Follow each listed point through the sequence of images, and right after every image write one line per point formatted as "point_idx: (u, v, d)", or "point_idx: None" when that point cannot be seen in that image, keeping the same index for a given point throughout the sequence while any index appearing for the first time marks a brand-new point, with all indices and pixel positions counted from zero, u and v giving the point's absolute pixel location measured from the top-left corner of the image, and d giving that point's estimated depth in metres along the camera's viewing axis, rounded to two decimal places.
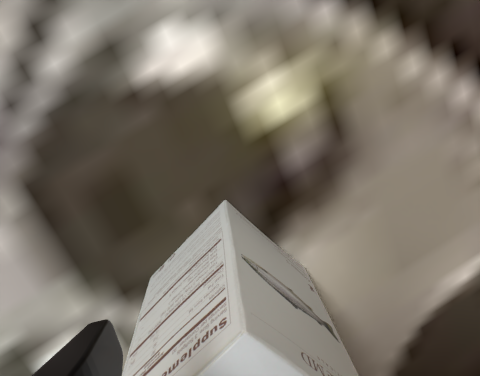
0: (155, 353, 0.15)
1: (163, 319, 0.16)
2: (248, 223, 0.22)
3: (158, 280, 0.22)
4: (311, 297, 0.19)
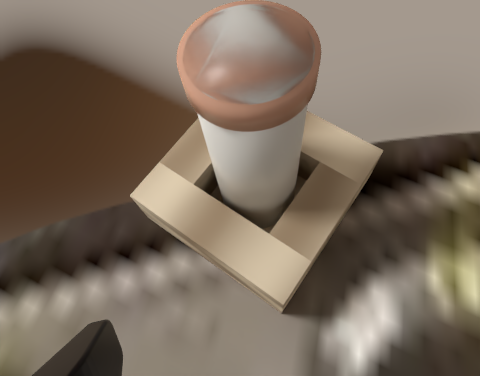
0: None
1: None
2: None
3: None
4: None
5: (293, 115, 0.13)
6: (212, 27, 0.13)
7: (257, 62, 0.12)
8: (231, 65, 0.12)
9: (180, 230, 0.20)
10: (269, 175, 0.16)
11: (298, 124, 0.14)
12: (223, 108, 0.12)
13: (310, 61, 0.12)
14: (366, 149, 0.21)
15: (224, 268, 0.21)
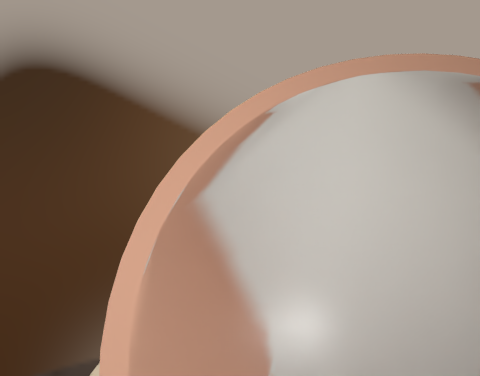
0: None
1: None
2: None
3: None
4: None
5: None
6: (267, 180, 0.03)
7: None
8: None
9: None
10: None
11: None
12: None
13: None
14: None
15: None
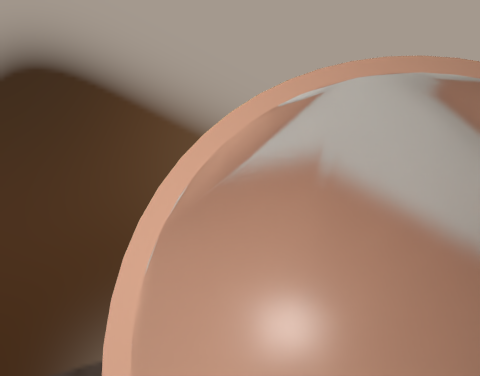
0: None
1: None
2: None
3: None
4: None
5: None
6: (266, 181, 0.03)
7: None
8: None
9: None
10: None
11: None
12: None
13: None
14: None
15: None
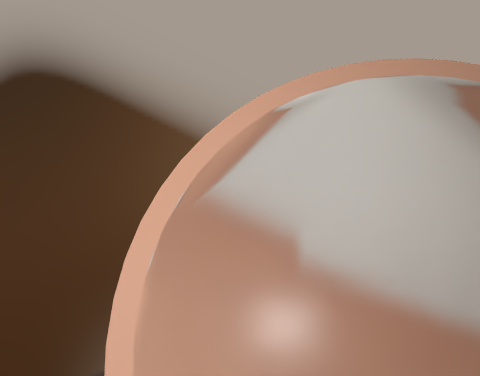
0: None
1: None
2: None
3: None
4: None
5: None
6: (266, 182, 0.03)
7: None
8: None
9: None
10: None
11: None
12: None
13: None
14: None
15: None
